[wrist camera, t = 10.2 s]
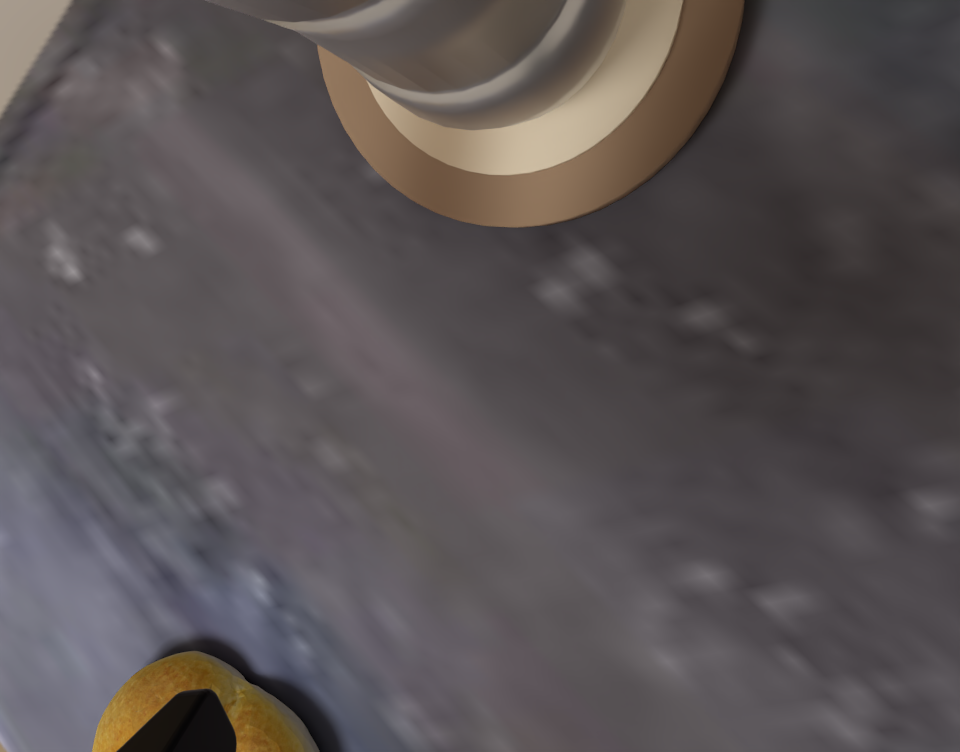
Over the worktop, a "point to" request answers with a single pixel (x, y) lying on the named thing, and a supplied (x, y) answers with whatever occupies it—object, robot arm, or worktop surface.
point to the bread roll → (252, 712)
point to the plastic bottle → (459, 50)
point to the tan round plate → (556, 125)
